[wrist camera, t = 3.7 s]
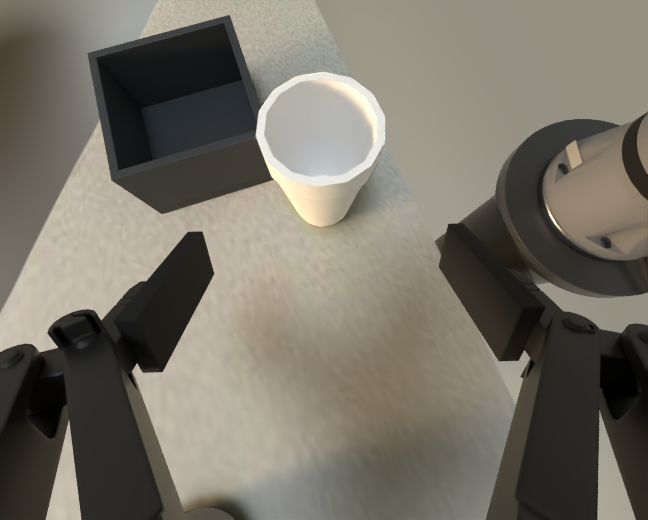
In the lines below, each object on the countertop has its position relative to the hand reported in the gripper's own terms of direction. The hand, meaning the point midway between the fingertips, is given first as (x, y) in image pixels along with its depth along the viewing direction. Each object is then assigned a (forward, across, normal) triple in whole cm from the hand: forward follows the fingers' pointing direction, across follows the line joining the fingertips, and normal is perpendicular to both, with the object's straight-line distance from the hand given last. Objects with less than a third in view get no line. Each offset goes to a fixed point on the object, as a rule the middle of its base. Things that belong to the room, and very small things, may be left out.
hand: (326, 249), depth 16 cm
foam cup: (+18, 0, -4) cm, 19 cm away
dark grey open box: (+24, -14, +2) cm, 28 cm away
